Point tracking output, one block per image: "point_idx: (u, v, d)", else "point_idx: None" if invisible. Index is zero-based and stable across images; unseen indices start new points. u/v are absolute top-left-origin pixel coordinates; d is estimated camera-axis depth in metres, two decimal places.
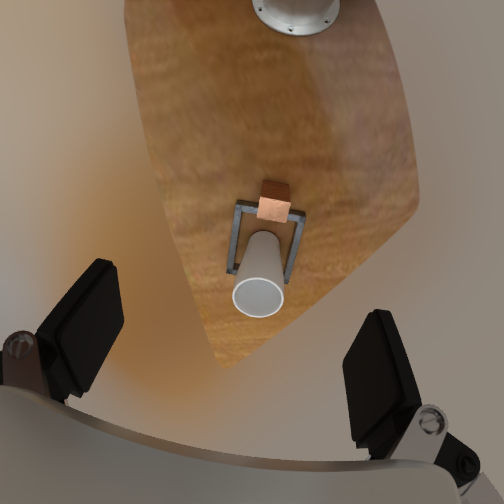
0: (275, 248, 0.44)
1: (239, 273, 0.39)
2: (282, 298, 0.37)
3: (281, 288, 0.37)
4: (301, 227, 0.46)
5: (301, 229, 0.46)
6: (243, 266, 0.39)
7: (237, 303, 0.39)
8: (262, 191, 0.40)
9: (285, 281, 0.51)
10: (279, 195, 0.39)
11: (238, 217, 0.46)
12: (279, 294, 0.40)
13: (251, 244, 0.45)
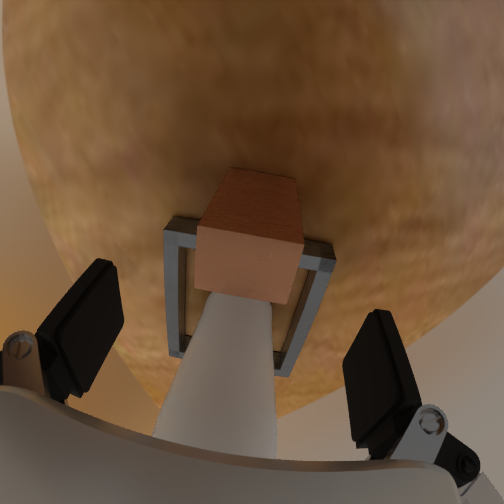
0: (259, 339, 0.18)
1: (156, 432, 0.12)
2: None
3: None
4: (322, 283, 0.19)
5: (323, 287, 0.19)
6: (167, 413, 0.13)
7: None
8: (214, 201, 0.13)
9: (283, 374, 0.25)
10: (267, 215, 0.12)
11: (173, 259, 0.19)
12: None
13: (203, 326, 0.18)
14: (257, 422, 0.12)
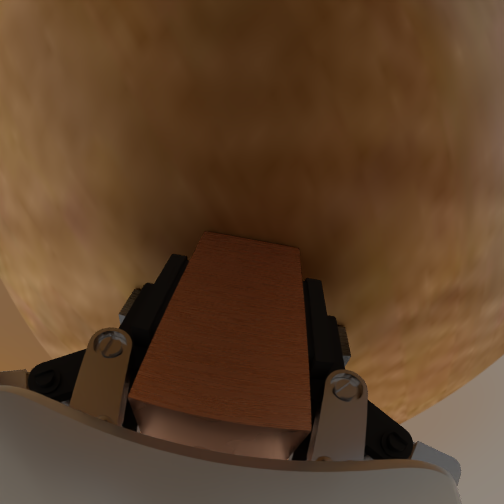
0: None
1: None
2: None
3: None
4: None
5: None
6: None
7: None
8: (164, 326, 0.07)
9: None
10: (252, 357, 0.07)
11: None
12: None
13: None
14: None
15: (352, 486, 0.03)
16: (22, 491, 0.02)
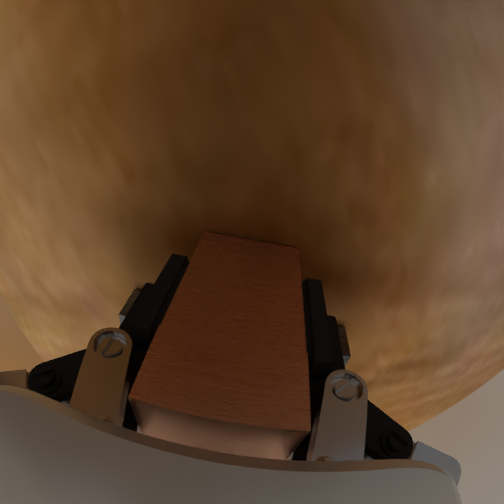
0: None
1: None
2: None
3: None
4: None
5: None
6: None
7: None
8: (164, 326, 0.07)
9: None
10: (252, 357, 0.07)
11: None
12: None
13: None
14: None
15: (352, 486, 0.03)
16: (22, 491, 0.02)
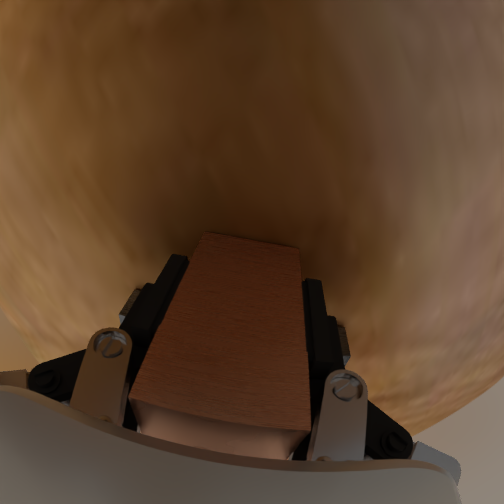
0: None
1: None
2: None
3: None
4: None
5: None
6: None
7: None
8: (164, 326, 0.07)
9: None
10: (252, 357, 0.07)
11: None
12: None
13: None
14: None
15: (352, 486, 0.03)
16: (22, 491, 0.02)
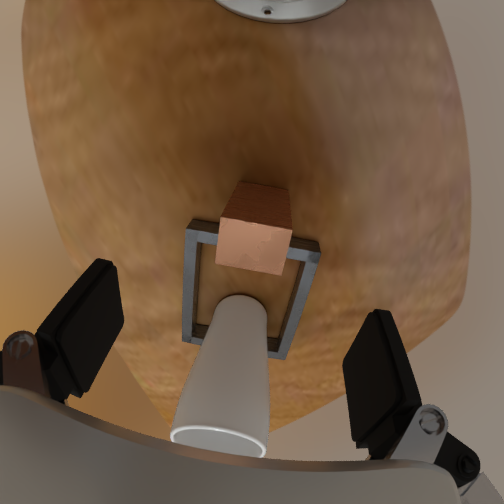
0: (258, 336, 0.24)
1: (183, 400, 0.18)
2: (264, 451, 0.16)
3: (262, 438, 0.16)
4: (310, 272, 0.24)
5: (311, 275, 0.24)
6: (191, 385, 0.18)
7: (182, 443, 0.17)
8: (230, 203, 0.18)
9: (280, 356, 0.29)
10: (267, 213, 0.18)
11: (192, 253, 0.24)
12: None
13: (215, 326, 0.24)
14: (257, 392, 0.18)
15: (352, 486, 0.03)
16: (22, 491, 0.02)
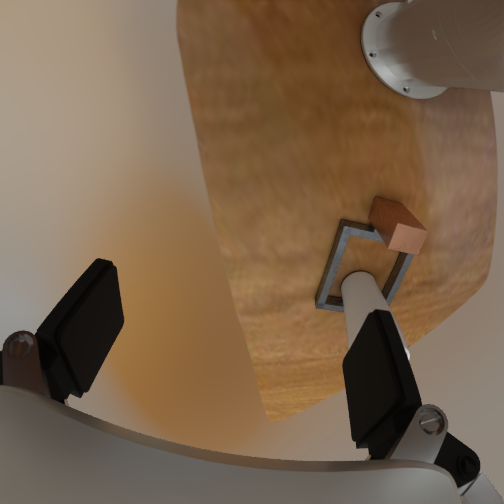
0: (383, 296, 0.35)
1: None
2: None
3: None
4: (411, 255, 0.35)
5: (411, 257, 0.35)
6: None
7: None
8: (391, 214, 0.29)
9: None
10: (410, 220, 0.28)
11: (344, 242, 0.35)
12: None
13: (356, 291, 0.35)
14: (399, 326, 0.29)
15: (352, 486, 0.03)
16: (22, 491, 0.02)
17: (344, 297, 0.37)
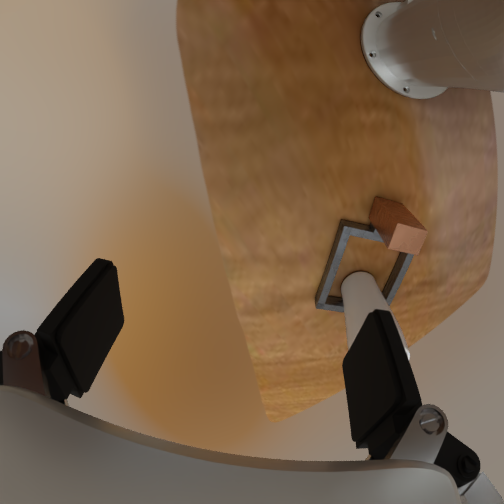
0: (383, 297, 0.35)
1: None
2: None
3: None
4: (411, 255, 0.35)
5: (411, 257, 0.35)
6: None
7: None
8: (391, 214, 0.29)
9: None
10: (410, 220, 0.28)
11: (344, 242, 0.35)
12: None
13: (356, 291, 0.35)
14: (399, 326, 0.29)
15: (352, 486, 0.03)
16: (22, 491, 0.02)
17: (344, 297, 0.37)
